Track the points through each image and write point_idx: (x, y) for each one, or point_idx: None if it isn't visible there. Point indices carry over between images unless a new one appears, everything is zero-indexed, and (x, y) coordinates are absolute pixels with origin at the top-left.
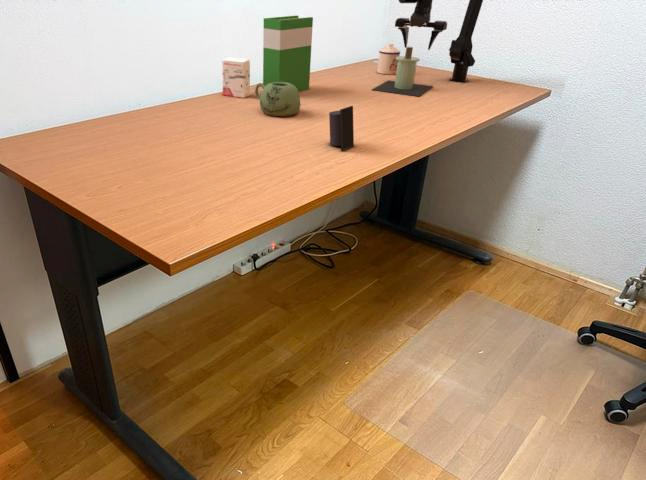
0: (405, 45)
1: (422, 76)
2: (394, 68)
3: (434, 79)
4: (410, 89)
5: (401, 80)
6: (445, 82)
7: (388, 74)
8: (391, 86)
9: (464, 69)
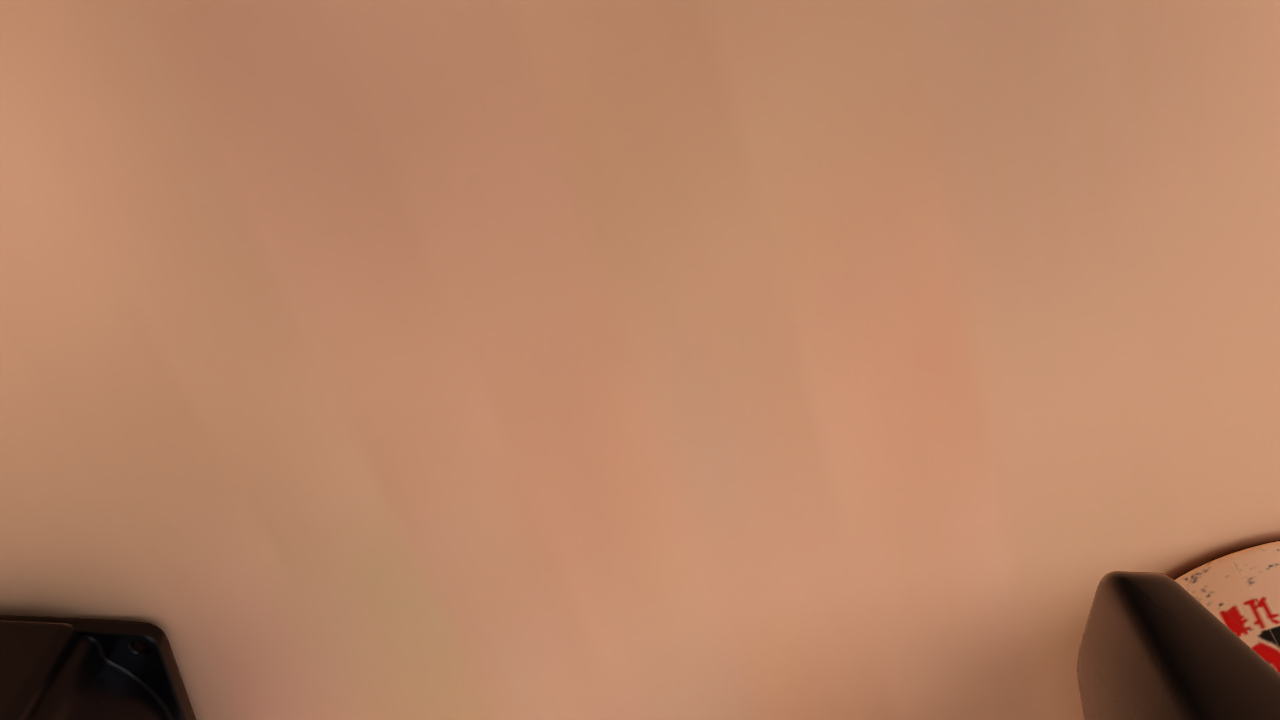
0: (1170, 634)
1: (635, 692)
2: None
3: (387, 593)
4: None
5: None
6: (136, 480)
7: (1246, 549)
8: None
9: None
